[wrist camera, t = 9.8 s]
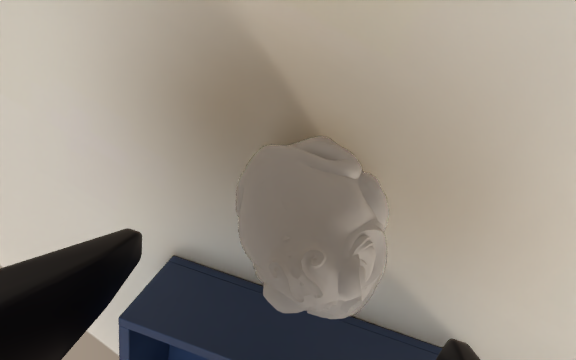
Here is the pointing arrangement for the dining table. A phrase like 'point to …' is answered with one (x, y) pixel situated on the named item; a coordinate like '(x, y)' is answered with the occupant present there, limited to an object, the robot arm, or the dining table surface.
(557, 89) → the dining table surface
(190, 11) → the dining table surface
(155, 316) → the lunchbox
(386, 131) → the dining table surface
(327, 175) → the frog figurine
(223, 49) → the dining table surface
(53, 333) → the robot arm
